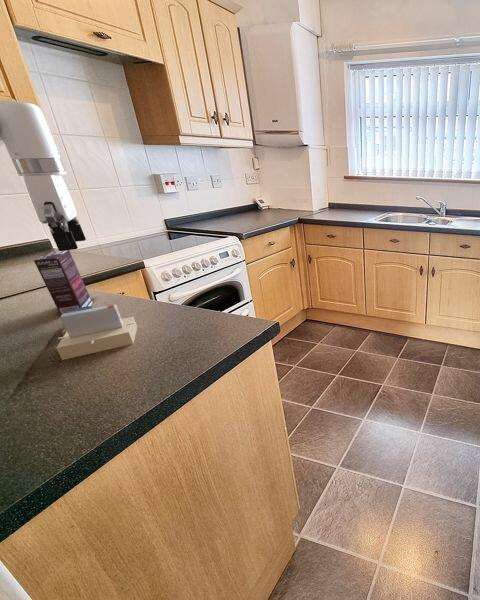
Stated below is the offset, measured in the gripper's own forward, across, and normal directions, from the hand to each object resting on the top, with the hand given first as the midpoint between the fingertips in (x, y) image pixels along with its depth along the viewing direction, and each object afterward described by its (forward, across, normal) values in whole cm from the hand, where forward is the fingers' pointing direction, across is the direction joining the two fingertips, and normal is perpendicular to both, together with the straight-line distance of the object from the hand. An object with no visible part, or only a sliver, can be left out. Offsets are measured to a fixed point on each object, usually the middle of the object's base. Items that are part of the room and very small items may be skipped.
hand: (73, 245), depth 79 cm
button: (+16, +5, -2) cm, 17 cm away
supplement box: (+19, -9, -7) cm, 22 cm away
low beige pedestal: (+19, +16, +2) cm, 25 cm away
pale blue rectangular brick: (+16, +16, +2) cm, 23 cm away
